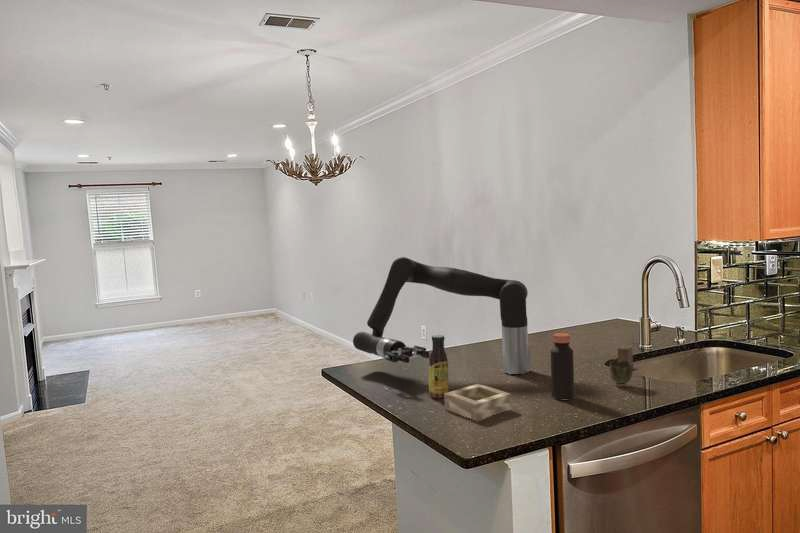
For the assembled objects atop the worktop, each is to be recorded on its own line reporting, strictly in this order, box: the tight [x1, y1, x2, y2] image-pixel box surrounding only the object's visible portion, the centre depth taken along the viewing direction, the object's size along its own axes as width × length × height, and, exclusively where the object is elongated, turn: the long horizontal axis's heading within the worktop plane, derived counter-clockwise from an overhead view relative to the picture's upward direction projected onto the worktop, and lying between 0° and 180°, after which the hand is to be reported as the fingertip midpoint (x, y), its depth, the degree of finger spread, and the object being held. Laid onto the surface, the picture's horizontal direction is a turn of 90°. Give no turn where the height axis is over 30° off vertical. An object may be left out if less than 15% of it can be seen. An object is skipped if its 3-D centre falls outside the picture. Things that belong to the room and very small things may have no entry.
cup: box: [608, 359, 634, 388], centre depth 191 cm, size 8×7×8 cm
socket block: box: [443, 383, 512, 422], centre depth 176 cm, size 14×14×5 cm
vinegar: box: [550, 332, 575, 400], centre depth 183 cm, size 7×7×20 cm
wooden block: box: [617, 345, 634, 364], centre depth 211 cm, size 4×4×8 cm
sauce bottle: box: [428, 334, 449, 399], centre depth 190 cm, size 6×6×20 cm
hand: (418, 357), depth 198 cm, fingers open, 8 cm apart
